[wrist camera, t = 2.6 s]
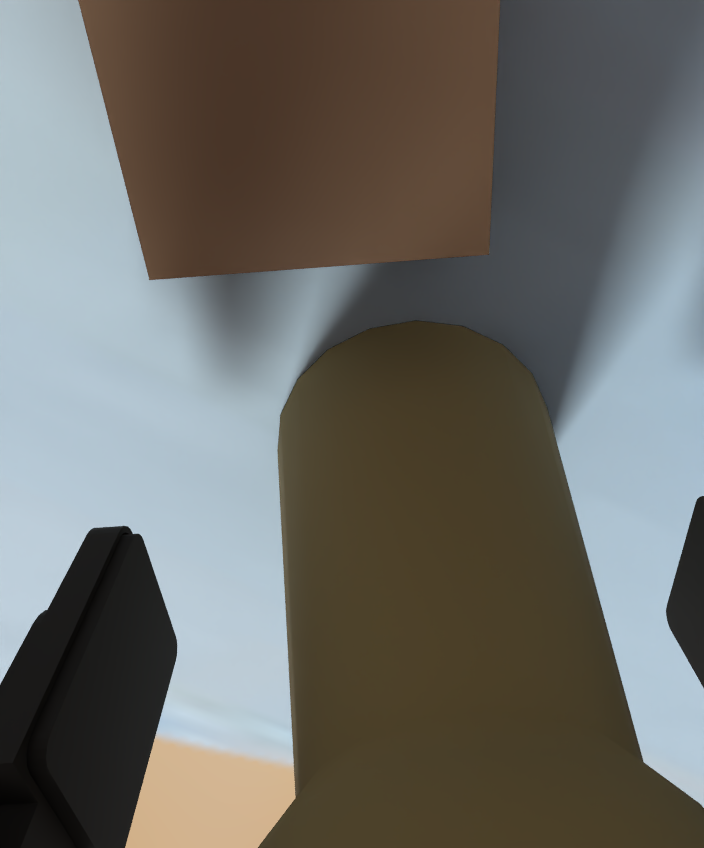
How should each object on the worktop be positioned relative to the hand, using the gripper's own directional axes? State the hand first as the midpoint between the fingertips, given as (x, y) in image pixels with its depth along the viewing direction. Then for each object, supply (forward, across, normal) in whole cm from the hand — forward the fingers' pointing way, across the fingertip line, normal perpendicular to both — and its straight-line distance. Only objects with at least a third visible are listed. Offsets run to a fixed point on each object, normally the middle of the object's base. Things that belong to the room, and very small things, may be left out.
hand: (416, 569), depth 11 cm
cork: (+4, 0, 0) cm, 4 cm away
